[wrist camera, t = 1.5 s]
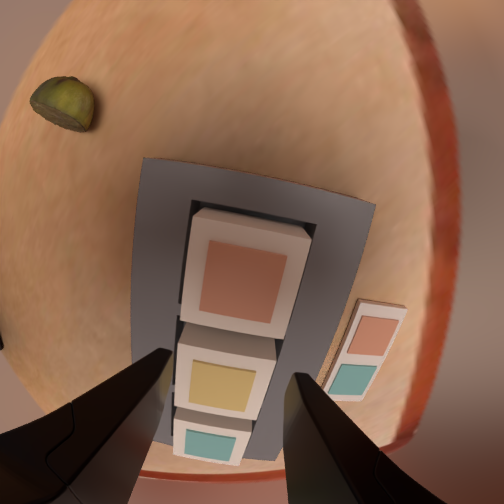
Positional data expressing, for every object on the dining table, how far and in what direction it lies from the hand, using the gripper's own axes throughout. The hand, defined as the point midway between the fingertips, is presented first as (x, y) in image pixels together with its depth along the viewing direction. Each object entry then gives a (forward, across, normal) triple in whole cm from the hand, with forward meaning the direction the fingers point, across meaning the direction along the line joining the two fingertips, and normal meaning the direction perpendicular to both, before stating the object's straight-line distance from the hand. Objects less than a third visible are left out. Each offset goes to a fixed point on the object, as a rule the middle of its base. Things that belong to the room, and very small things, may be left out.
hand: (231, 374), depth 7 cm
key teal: (+10, 0, +14) cm, 17 cm away
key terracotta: (+10, 0, 0) cm, 10 cm away
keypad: (+12, 0, +7) cm, 14 cm away
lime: (+12, +14, -8) cm, 20 cm away
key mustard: (+9, 0, +7) cm, 12 cm away
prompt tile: (+12, -11, +7) cm, 18 cm away
